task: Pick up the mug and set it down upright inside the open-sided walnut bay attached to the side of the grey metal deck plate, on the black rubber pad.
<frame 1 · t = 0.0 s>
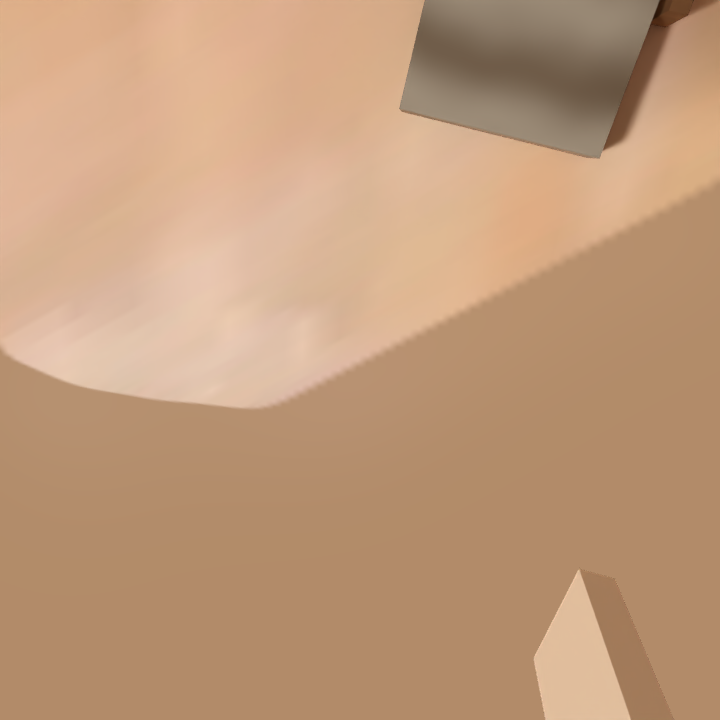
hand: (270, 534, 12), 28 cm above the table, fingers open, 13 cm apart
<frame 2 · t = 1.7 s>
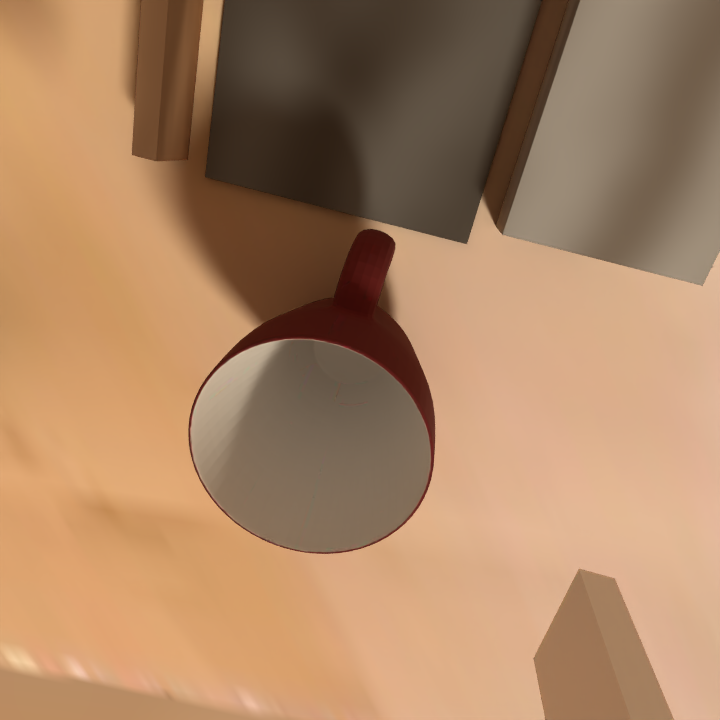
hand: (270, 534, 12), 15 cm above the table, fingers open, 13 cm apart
mug: (355, 322, 26), on the table
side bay: (375, 18, 21), on the table
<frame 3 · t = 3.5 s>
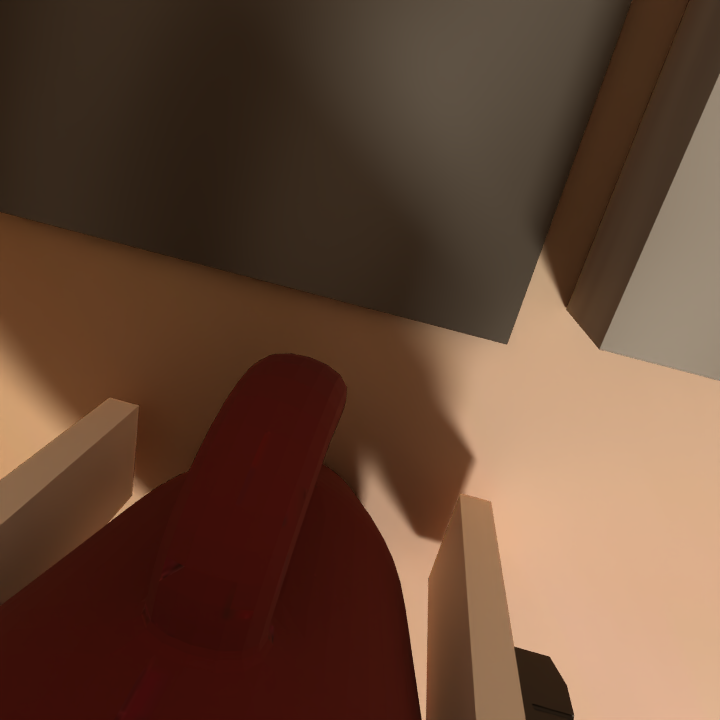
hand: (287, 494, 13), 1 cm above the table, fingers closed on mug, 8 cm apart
mug: (294, 471, 14), on the table, touching gripper
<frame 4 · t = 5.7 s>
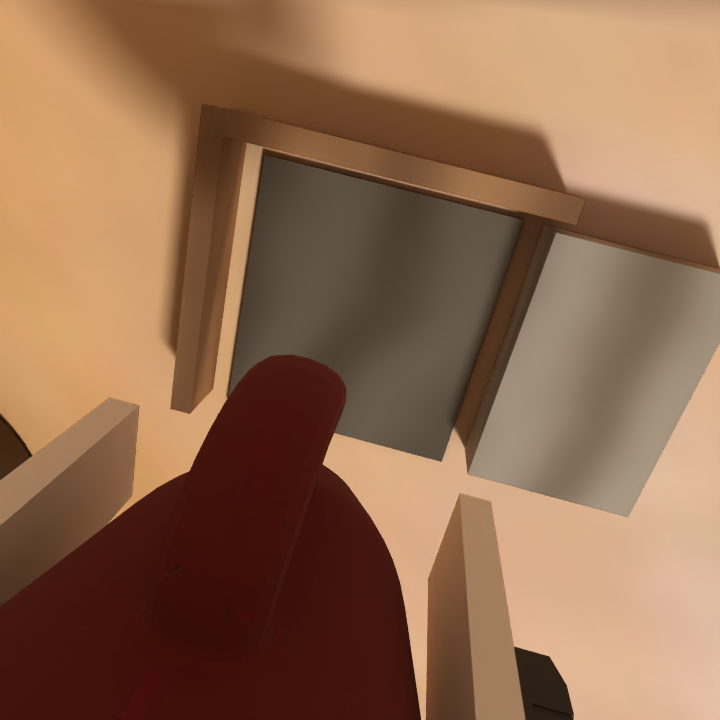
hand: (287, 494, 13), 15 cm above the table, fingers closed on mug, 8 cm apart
mug: (294, 472, 14), point 14 cm above the table, touching gripper
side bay: (365, 300, 26), on the table
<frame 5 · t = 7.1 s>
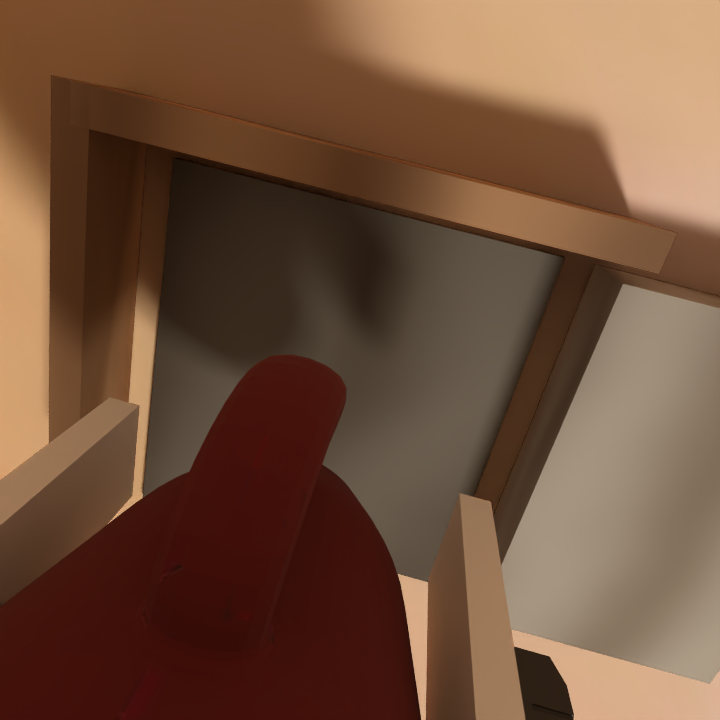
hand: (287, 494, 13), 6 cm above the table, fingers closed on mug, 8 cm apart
mug: (294, 472, 14), point 5 cm above the table, touching gripper
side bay: (330, 369, 18), on the table
when the fingers open (3 cm above the table, at t = 8.1 s): mug drops 2 cm, resting on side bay.
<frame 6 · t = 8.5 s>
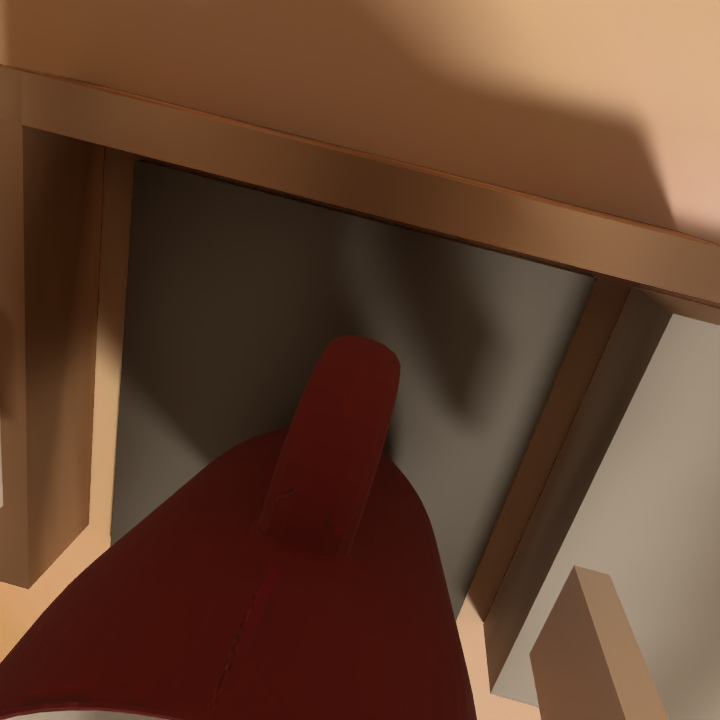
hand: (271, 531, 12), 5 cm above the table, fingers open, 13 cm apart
mug: (335, 442, 16), resting on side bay
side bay: (321, 402, 16), on the table
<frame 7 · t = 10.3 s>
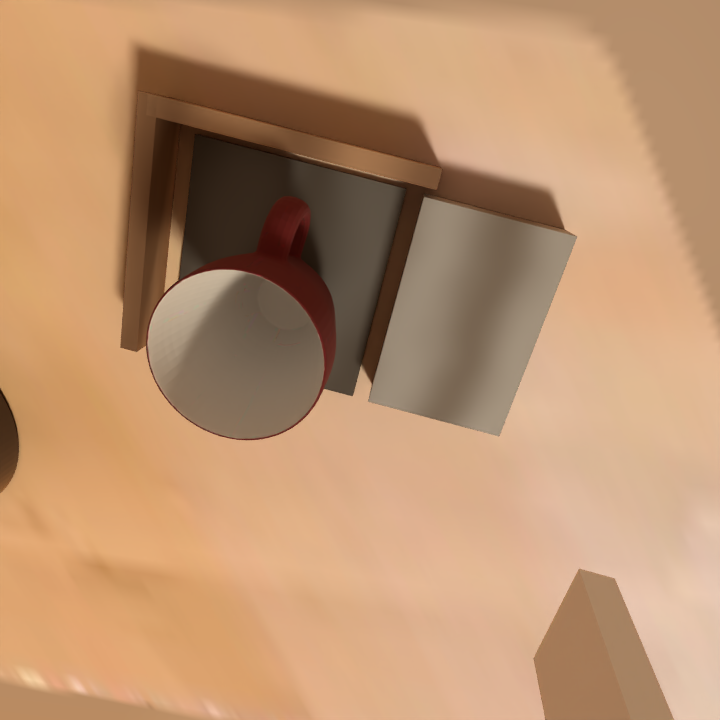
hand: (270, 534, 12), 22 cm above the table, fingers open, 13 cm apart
mug: (291, 278, 32), resting on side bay
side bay: (283, 257, 32), on the table
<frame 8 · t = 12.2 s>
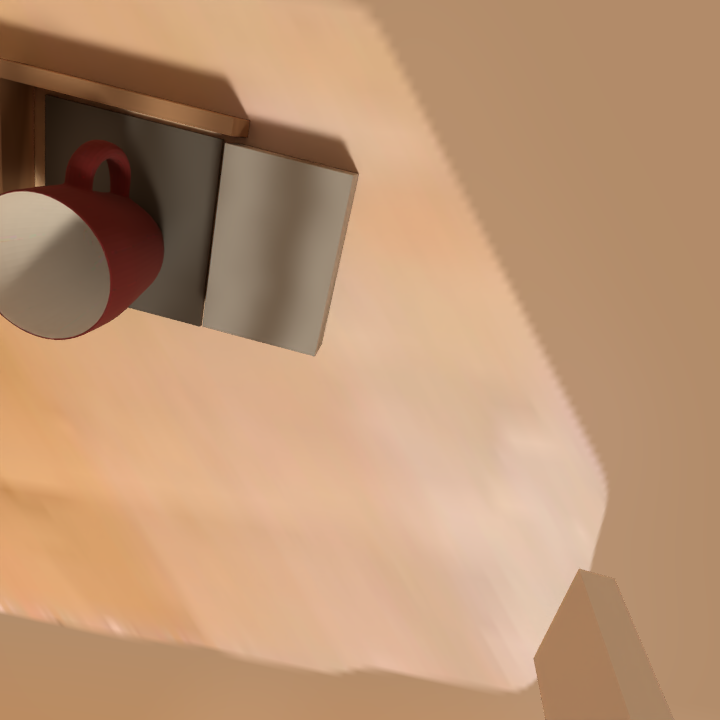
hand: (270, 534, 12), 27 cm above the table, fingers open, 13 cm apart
mug: (138, 221, 37), resting on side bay
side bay: (130, 202, 37), on the table
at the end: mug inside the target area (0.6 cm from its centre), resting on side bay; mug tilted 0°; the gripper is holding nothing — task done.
